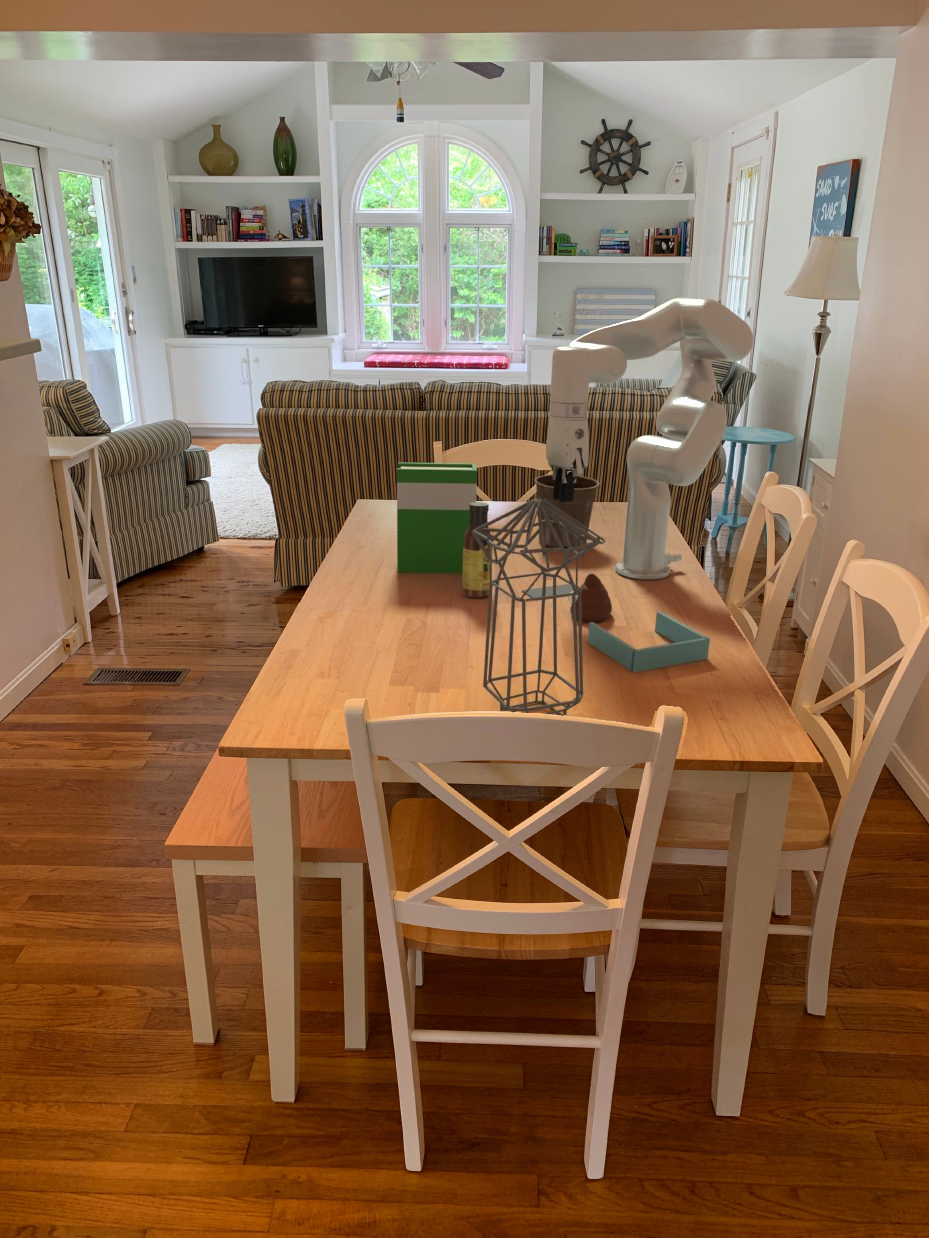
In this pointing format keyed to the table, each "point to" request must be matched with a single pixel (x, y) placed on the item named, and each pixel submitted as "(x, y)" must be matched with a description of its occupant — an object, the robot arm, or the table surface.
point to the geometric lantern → (571, 528)
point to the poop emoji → (593, 601)
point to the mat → (549, 591)
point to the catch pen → (683, 649)
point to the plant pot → (568, 506)
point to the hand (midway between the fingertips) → (563, 499)
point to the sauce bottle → (476, 555)
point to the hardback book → (433, 515)
